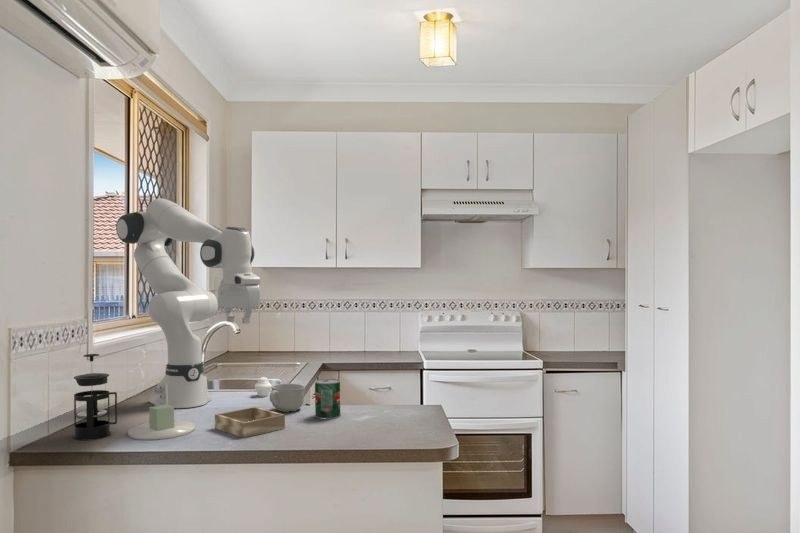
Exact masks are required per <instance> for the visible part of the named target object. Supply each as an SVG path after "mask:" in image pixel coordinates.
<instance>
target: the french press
mask: <svg viewBox="0 0 800 533" xmlns="http://www.w3.org/2000/svg"><path fill="white" fill-rule="evenodd" d="M82 356H83V357H84V358H85V357H86V358H89V362H90V373H85V374H79V375H75V376H73V380H75V381H76V383H77V385H78V386H80V387H90V390H86V391H80V392H76V393H74V395H73V407H74V408H73V409H74V412H73V413H74V415H73V417H74V419H73V420H74V425H73V426H74V434H73V439H74V438H76V439H86V440H85V441H88V440H87V439H94V440H98V438H100V439H104V438H106V437H109V436H111V433H112V432H111V427H110V426H111V425H117V424H118V392H117V391H112V392H111V391H109V390H105V389H104V390H103V389H100V390H99V389H97V390H94V389H93V386H101V385H105V384H107V383H108V378H109V376H110V374H108V373H104V372H103V373H101V372H98V373H97V372H94V373H93V362H94V357H99V356H100V354H99V353H88V354H84V355H82ZM111 395H114V408H115V409H114V411H115V412H114V416H115V419H114V421H111V420H110V417H111V416H110V410H111V409H110V396H111ZM105 399H107V409H98V401H99V400H105ZM77 402H85V403H86V404H85V405H86V410H84V411H83V410H82V411H80V412H77ZM107 415H108V416H107ZM105 416H107V418H108V419H107V420H105V419H98V418H102V417H105ZM77 419H85V420H86V421H82V422H79V423H77ZM76 439H75V440H76Z"/></svg>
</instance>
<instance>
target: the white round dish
mask: <svg viewBox="0 0 800 533" xmlns="http://www.w3.org/2000/svg"><path fill="white" fill-rule="evenodd" d="M195 426H196V424H195V423H194V422H192V421H187V420H179V419H178V420H175V419H174V428H170V429H165V430H160V431H156V430H153V429H151V428H150V423H149V422H144V423H142V424H137V425H135V426H132V427H131V428H129V429H128V430H127V436H128V437H129V438H131V439H134V440H139V441H159V440H158V439H160V440H168V439H173V437H174V438H179V437H182V435H183V436H185V435H188V434H191V433H193V432H194V431H195V429H196V427H195ZM167 438H168V439H167Z"/></svg>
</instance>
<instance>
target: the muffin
mask: <svg viewBox="0 0 800 533" xmlns="http://www.w3.org/2000/svg"><path fill="white" fill-rule="evenodd" d="M272 386H273V385H272V384H271V383H270V381H269V378H267V377H266V376H262V377H259V378H258V379H257V382H256V383H255V384H254V389H255V392H256V394H257V396H258V397H261V398H264V397H268V396H269V395H270V393H271V391H272Z"/></svg>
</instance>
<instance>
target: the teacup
mask: <svg viewBox="0 0 800 533" xmlns="http://www.w3.org/2000/svg"><path fill="white" fill-rule="evenodd" d="M305 389H306V387H305V386H304V385H303V384H299V383H277V384H273V385H272V387H271V391H270V392H269V401H270V403H271V404H272V406H273V407H274V408H275V409H276V410H277V411H278V412H281V411H282V412H283V413H290V412H289V411H293V412H296V411H295V410H297V411H298V410H299V409H300V408H301V407H303V404H304V401H305Z"/></svg>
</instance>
